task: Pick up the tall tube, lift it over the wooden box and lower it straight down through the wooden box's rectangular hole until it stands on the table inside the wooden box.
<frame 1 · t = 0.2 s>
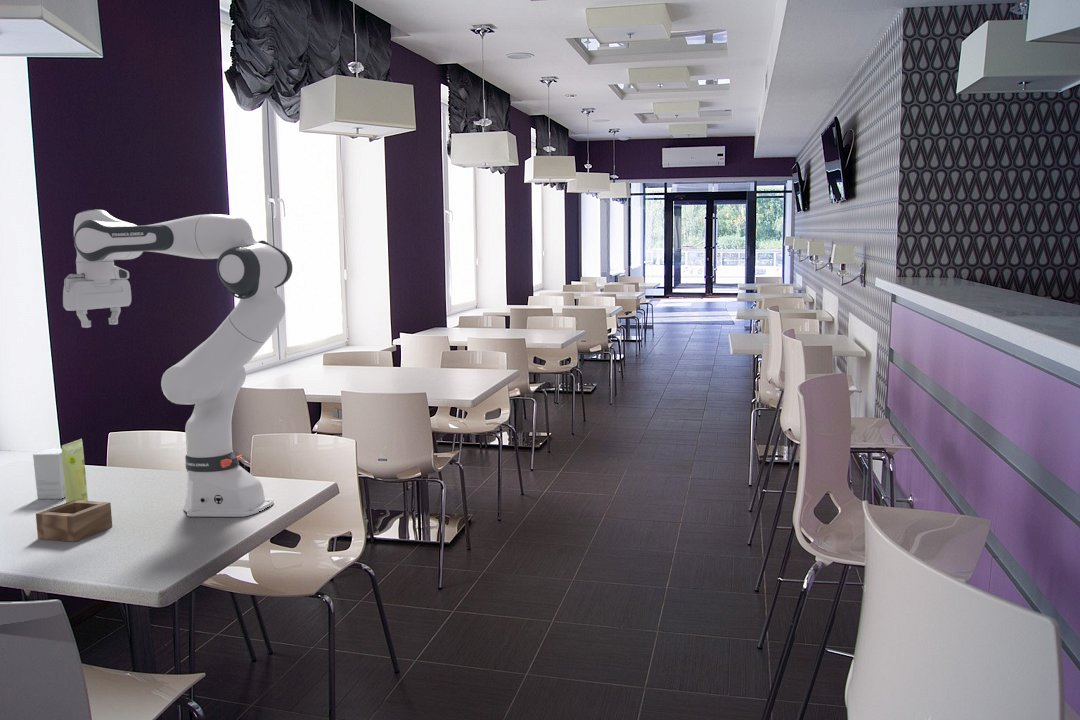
hand: (100, 325, 228), 47 cm above the table, tool pointing down, fingers open, 8 cm apart
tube: (77, 518, 218), on the table
wooden box: (75, 532, 206), on the table
supplement box: (57, 496, 240), on the table
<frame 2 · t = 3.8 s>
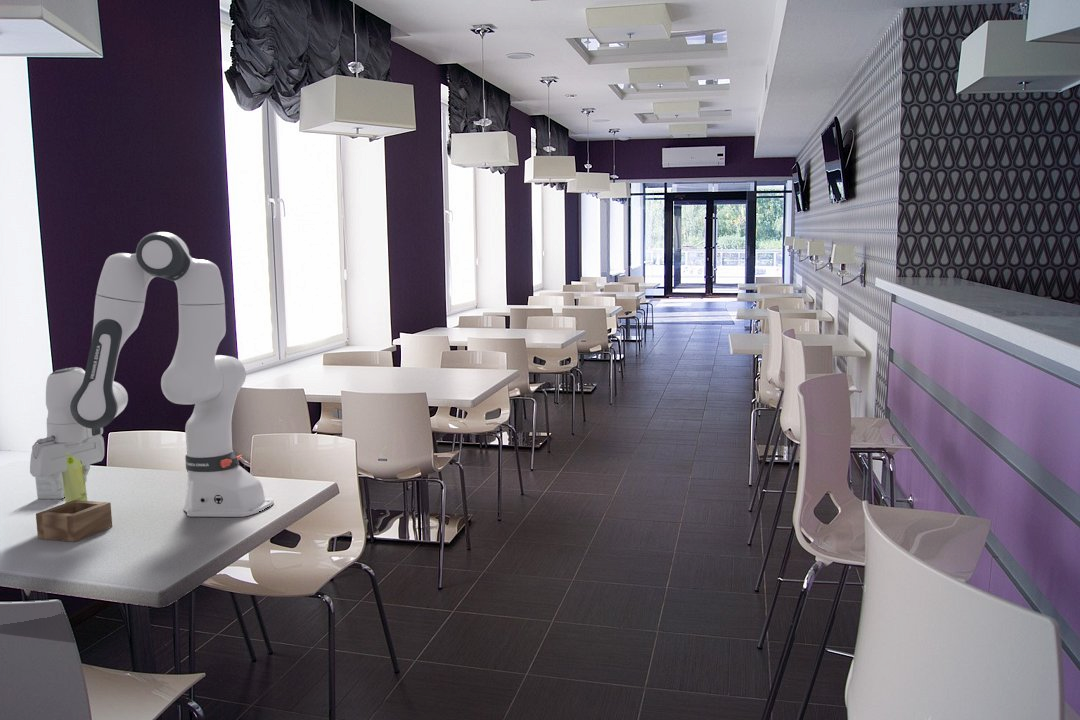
hand: (69, 486, 217), 8 cm above the table, tool pointing down, fingers open, 6 cm apart
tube: (77, 518, 218), on the table, touching arm, gripper
everything else where it was.
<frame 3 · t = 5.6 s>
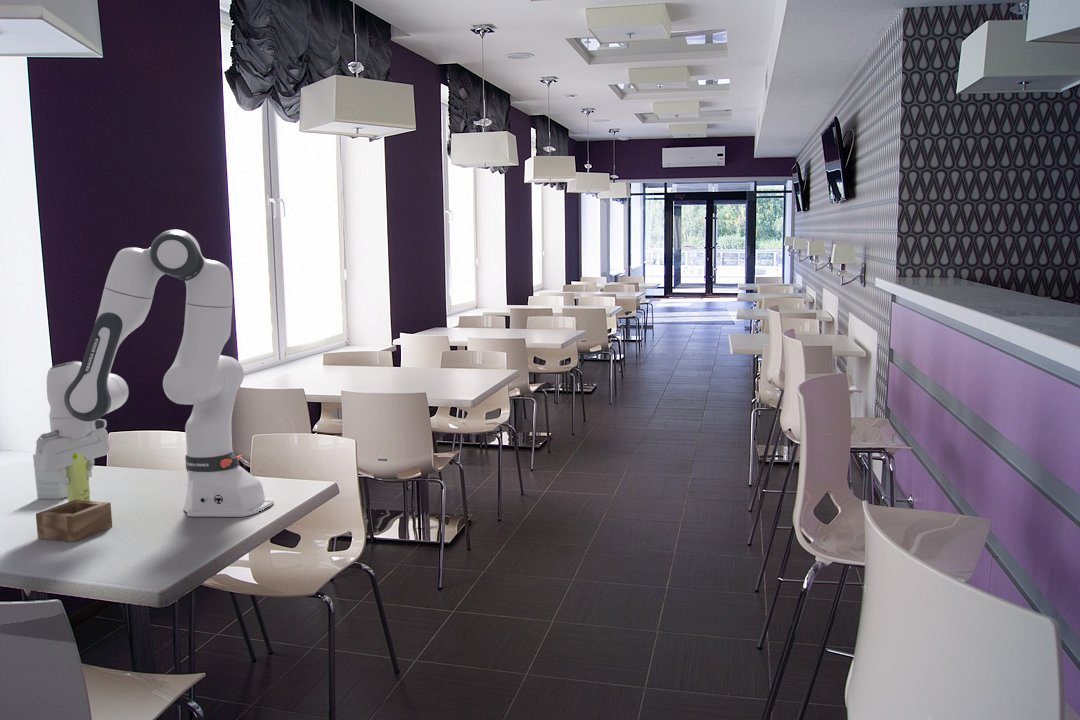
hand: (76, 481, 217), 9 cm above the table, tool pointing down, fingers closed on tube, 6 cm apart
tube: (79, 514, 218), point 1 cm above the table, touching gripper
everything else where it was.
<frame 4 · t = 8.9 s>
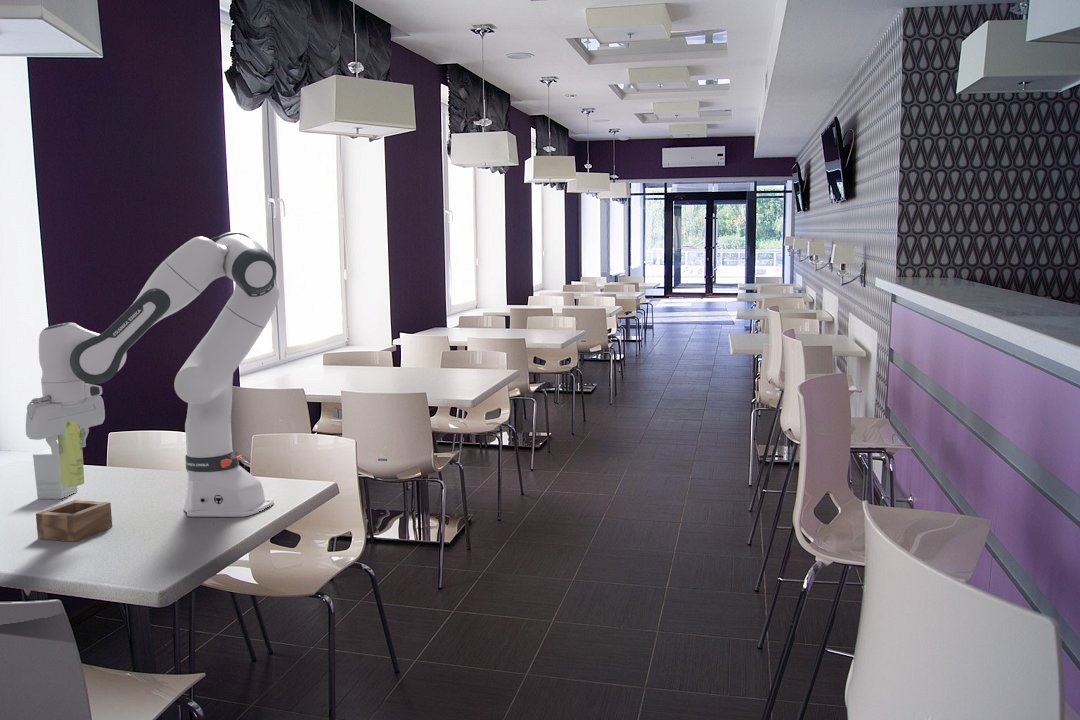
hand: (69, 450, 204), 20 cm above the table, tool pointing down, fingers closed on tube, 6 cm apart
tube: (72, 485, 205), point 11 cm above the table, touching gripper
everything else where it was.
when the fingers open (8 cm above the table, at t = 12.3 s): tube stays where it is, resting in wooden box.
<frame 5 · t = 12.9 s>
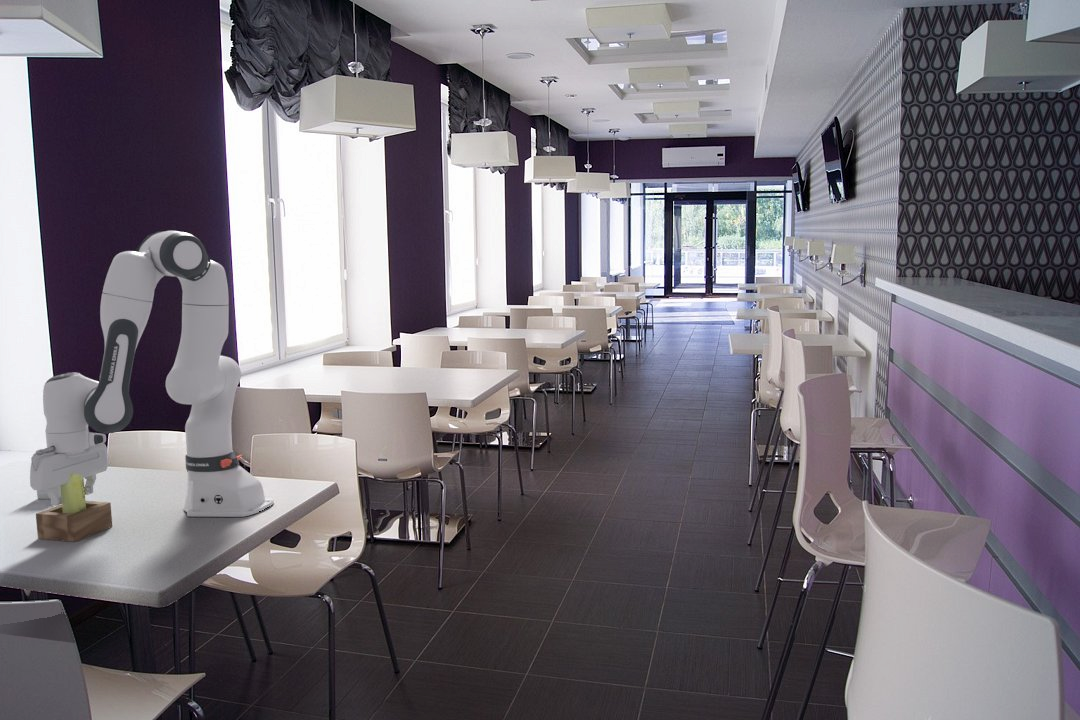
hand: (72, 499, 205), 8 cm above the table, tool pointing down, fingers open, 8 cm apart
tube: (75, 533, 206), resting in wooden box
everything else where it was.
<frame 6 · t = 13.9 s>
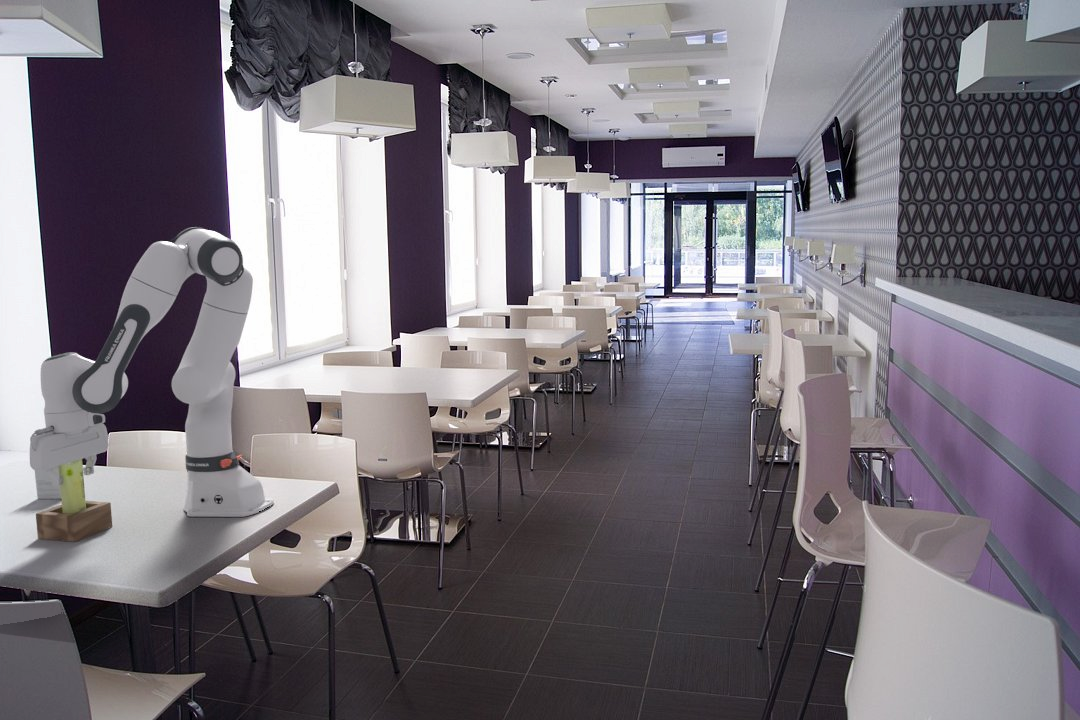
hand: (73, 479, 205), 13 cm above the table, tool pointing down, fingers open, 8 cm apart
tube: (75, 533, 206), resting in wooden box, touching gripper
everything else where it was.
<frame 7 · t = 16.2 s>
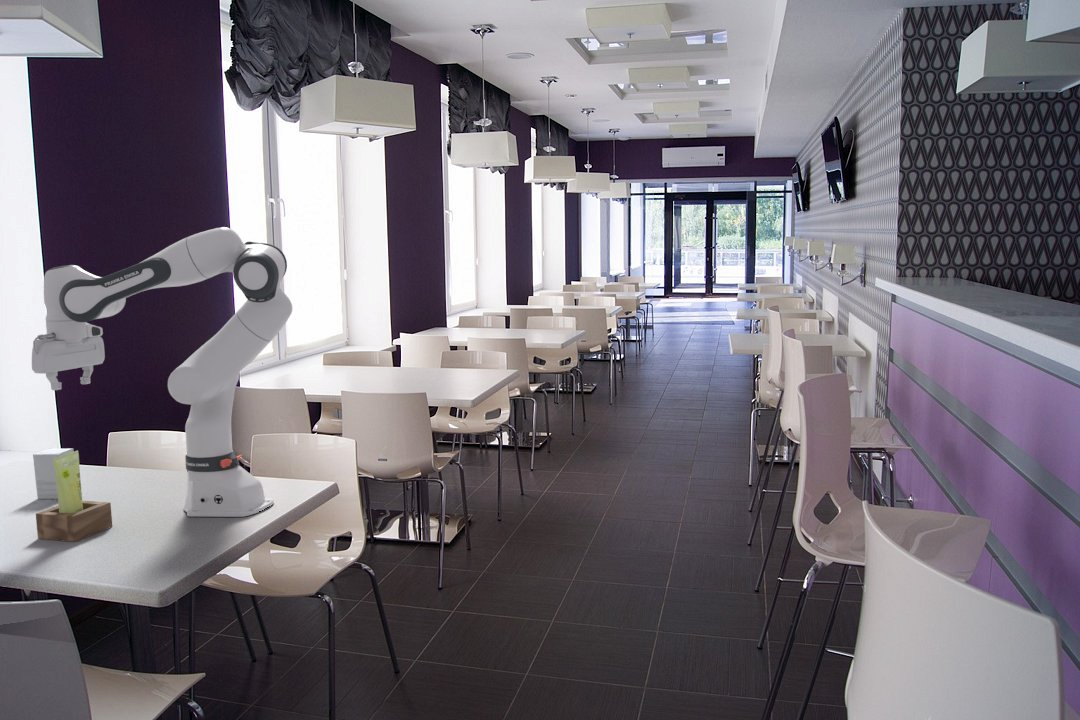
hand: (71, 386, 216), 33 cm above the table, tool pointing down, fingers open, 8 cm apart
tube: (72, 535, 205), resting in wooden box
everything else where it was.
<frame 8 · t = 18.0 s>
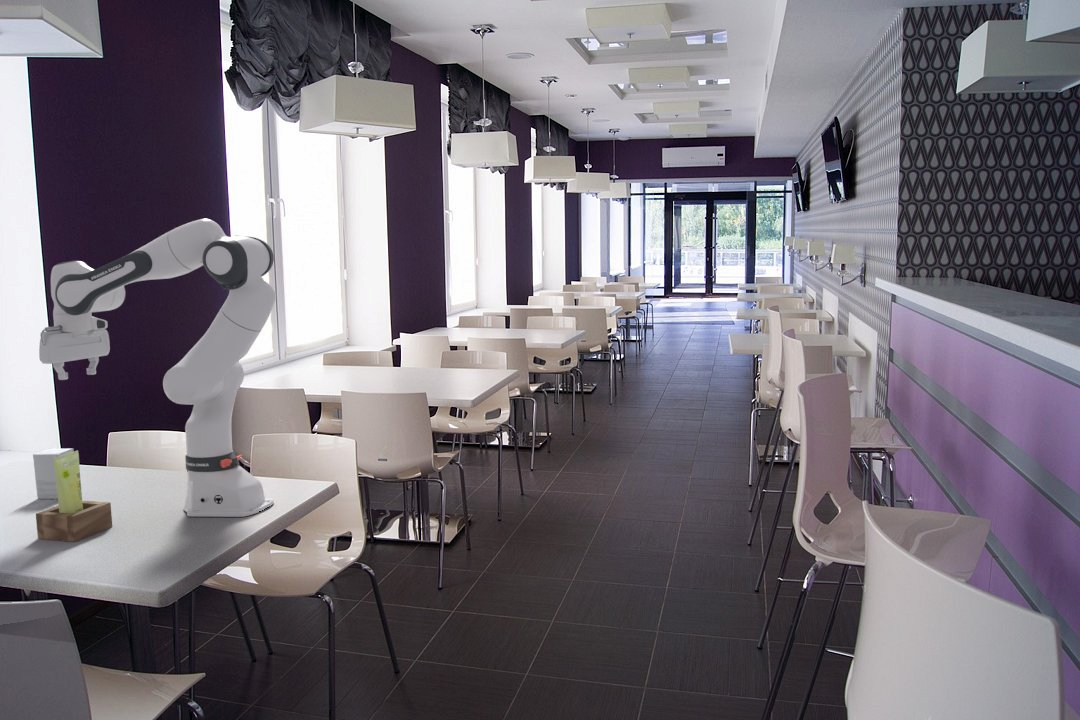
hand: (77, 377, 227), 34 cm above the table, tool pointing down, fingers open, 8 cm apart
nothing on the table moved.
at the end: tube 1.6 cm off-centre on the wooden box, point 0.0 cm above the wooden box's base; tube tilted 0°; the gripper is holding nothing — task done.
